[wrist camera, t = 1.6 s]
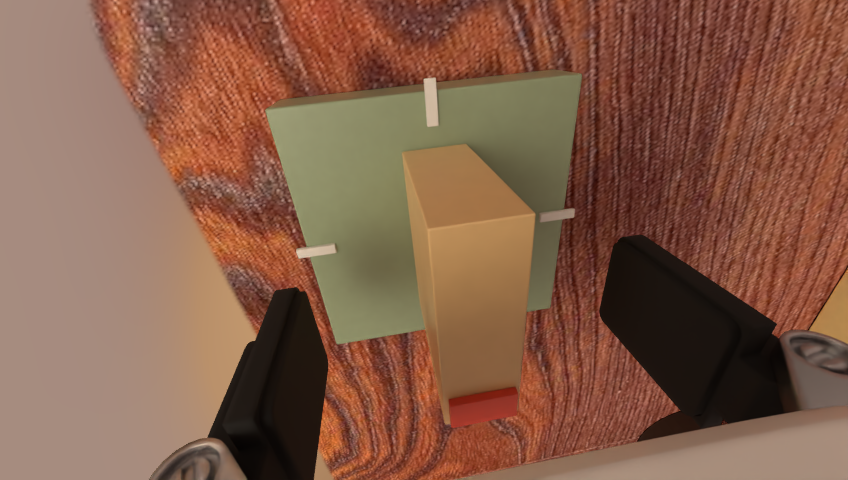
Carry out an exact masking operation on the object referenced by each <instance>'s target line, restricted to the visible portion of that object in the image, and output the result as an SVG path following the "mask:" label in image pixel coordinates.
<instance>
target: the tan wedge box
mask: <svg viewBox="0 0 848 480" xmlns="http://www.w3.org/2000/svg"><path fill="white" fill-rule="evenodd" d="M402 159H403V167H404V176H405V184H406V193H407V201H408V209H409V218H410V226H411V234H412V243H413V251H414V259H415V268H416V276H417V284H418V293H419V301H420V306H421V311H422V316H423V321H424V325H425V330H426V335H427V340H428V345H429V350H430V354H431V359H432V364H433V369H434V374H435V378H436V383H437V388H438V393H439V398H440V403H441V407H442V412H443V417H444V422H445V424H451V427H452V428H455V427H460V426H465V425H470V424H475V423H480V422H485V421H490V420H495V419H500V418H506V417H511V416H516V415H517V410H518V402H519V391H520V381H521V370H522V359H523V348H524V337H525V326H526V315H527V304H528V294H529V283H530V272H531V261H532V250H533V239H534V228H535V218H536V214H535V212H534V211H533V210H532V209H531V208H530V207H529V206H528V205H527V204H526V203H525V202H524V201H523V200H522V199H521V198H520V197H519V196H518V195H517V194H516V193H515V192H514V191H513V190H512V189H511V188H510V187H509V186H508V185H507V184H506V183H505V182H504V181H503V180H502V179H501V178H500V177H499V176H498V175H497V174H496V173H495V172H494V171H493V170H492V169H491V168H490V167H489V166H488V165H487V164H486V163H485V162H484V161H483V160H482V159H481V158H480V157H479V156H478V155H477V154H476V153H475V152H474V151H473V150H472V149H471V148H470V147H469V146H468V145H467V144H460V145H452V146H444V147H436V148H428V149H421V150H413V151H405V152H402Z"/></svg>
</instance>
